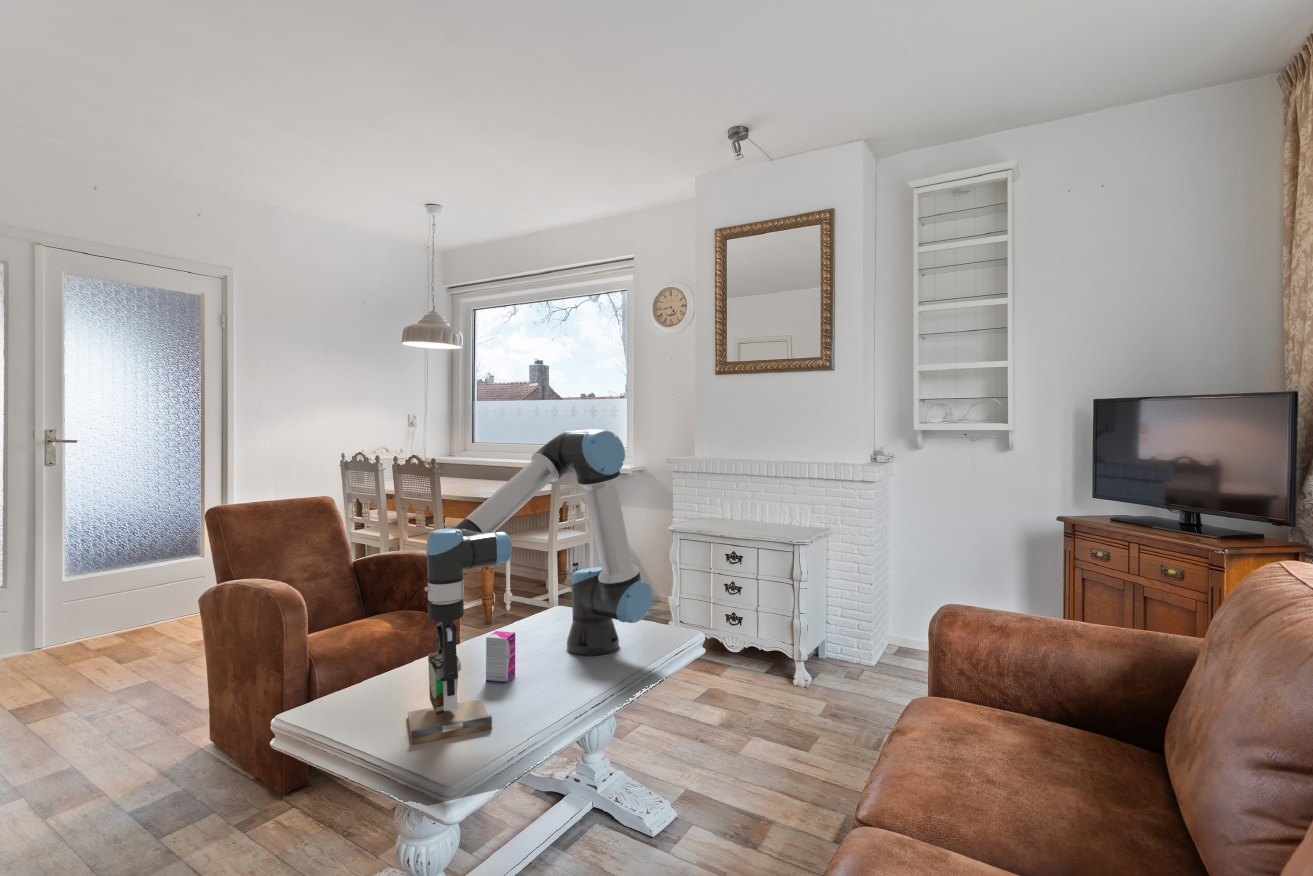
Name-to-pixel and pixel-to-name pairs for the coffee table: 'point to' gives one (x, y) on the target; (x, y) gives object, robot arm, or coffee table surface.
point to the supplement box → (500, 657)
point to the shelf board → (448, 722)
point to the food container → (437, 681)
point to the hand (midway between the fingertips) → (447, 699)
